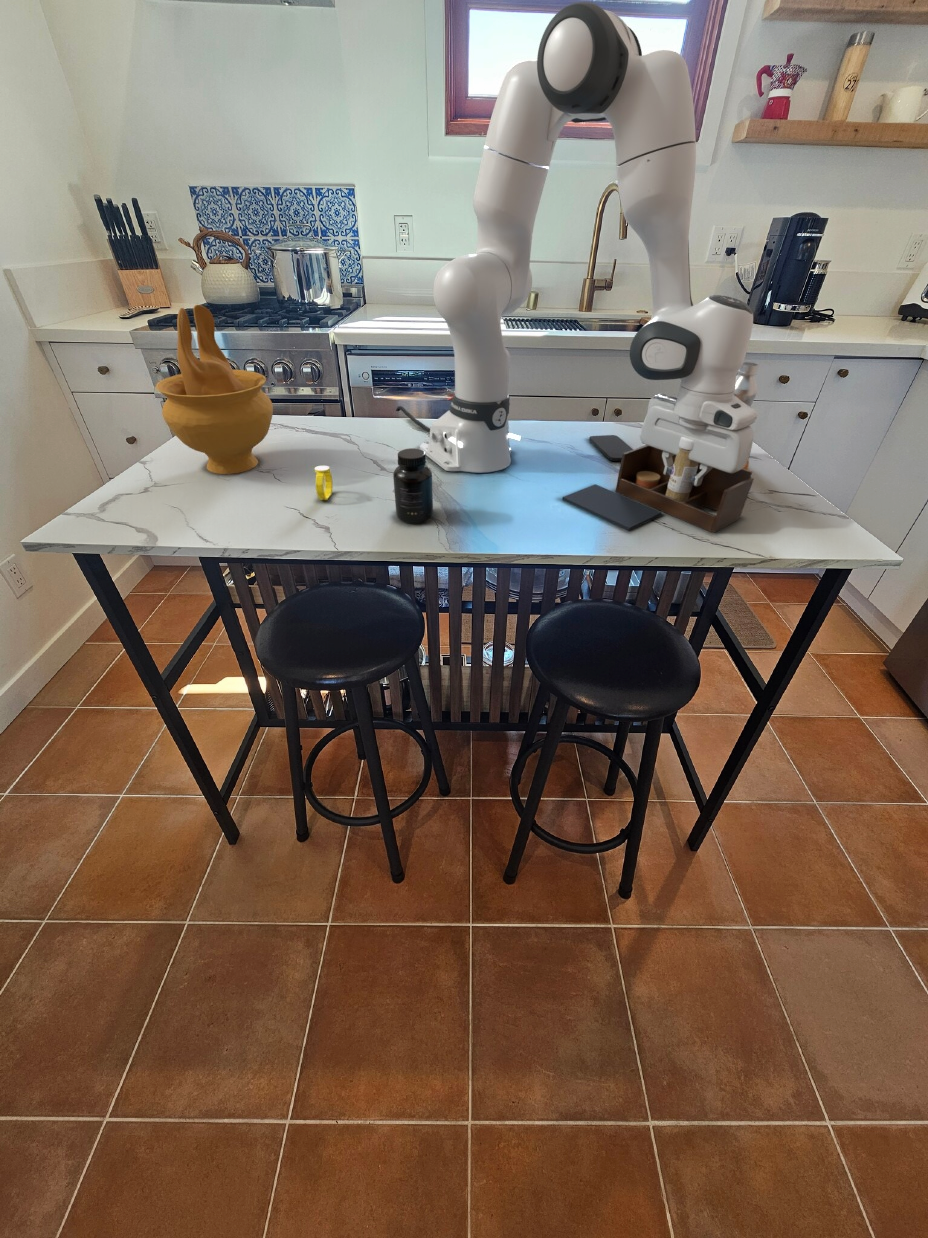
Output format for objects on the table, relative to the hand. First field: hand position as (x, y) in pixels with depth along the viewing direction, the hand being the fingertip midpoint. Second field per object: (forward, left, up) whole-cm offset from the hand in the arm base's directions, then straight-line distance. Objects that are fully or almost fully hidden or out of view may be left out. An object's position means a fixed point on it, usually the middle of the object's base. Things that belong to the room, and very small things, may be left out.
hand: (681, 479), depth 104 cm
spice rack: (0, 0, -5) cm, 5 cm away
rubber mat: (-7, -11, -5) cm, 14 cm away
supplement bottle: (-27, -43, -5) cm, 51 cm away
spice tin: (-7, 0, -5) cm, 9 cm away
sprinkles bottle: (0, 0, -5) cm, 5 cm away
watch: (-44, -52, -5) cm, 68 cm away
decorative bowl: (-71, -60, -5) cm, 93 cm away
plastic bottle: (-8, +31, -5) cm, 32 cm away
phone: (-26, +14, -5) cm, 30 cm away
